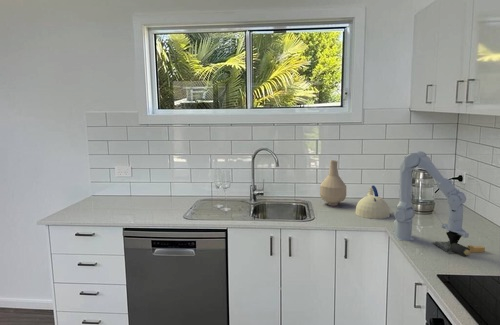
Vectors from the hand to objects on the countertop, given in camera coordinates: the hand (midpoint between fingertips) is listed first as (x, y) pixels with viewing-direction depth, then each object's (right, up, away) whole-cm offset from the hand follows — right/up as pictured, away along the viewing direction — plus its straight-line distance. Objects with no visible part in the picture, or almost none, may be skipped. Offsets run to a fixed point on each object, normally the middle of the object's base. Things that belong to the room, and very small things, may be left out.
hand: (453, 247), depth 172 cm
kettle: (-17, +7, +61) cm, 64 cm away
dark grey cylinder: (+1, -2, -4) cm, 4 cm away
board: (0, -2, 0) cm, 2 cm away
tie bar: (+9, -1, -2) cm, 9 cm away
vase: (-36, +10, +86) cm, 94 cm away
